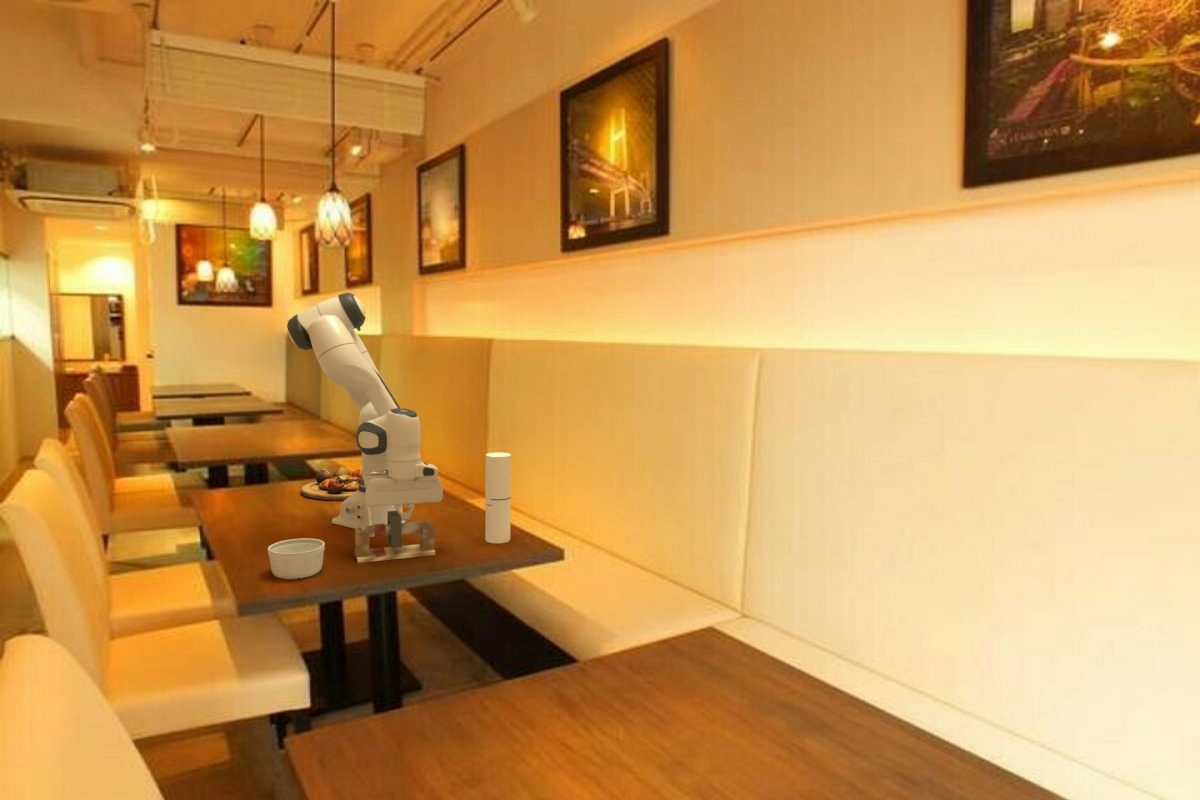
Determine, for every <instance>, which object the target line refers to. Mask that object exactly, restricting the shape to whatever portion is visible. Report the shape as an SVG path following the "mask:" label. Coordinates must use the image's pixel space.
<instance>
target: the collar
mask: <svg viewBox="0 0 1200 800" xmlns="http://www.w3.org/2000/svg"><path fill="white" fill-rule="evenodd" d="M387 518H388V524H391V535H387V542H388V543H389V545H390V546H389V547H392V548H400V547H402V546H403V543H402V535H403V534H402V532H401V516H400V515H399V513H398V512H397V511H387Z"/></svg>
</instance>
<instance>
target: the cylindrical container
mask: <svg viewBox="0 0 1200 800" xmlns="http://www.w3.org/2000/svg"><path fill="white" fill-rule="evenodd" d="M511 458H512V454H511V453H508V452H487V453H486V454H485V534H484V535H485V542H487V543H489V544H505V543H508V542H510V541H511V506H512V505H511V498H512V497H511V495H512V494H511V493H512V492H511V491H512V490H511V487H512V486H511V485H512V483H511V481H512V479H511V475H512V474H511V472H512V471H511V469H512V463H511V462H512V459H511ZM509 540H510V541H509Z"/></svg>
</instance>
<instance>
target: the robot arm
mask: <svg viewBox="0 0 1200 800" xmlns="http://www.w3.org/2000/svg"><path fill="white" fill-rule="evenodd" d="M365 321H366V311H365V306H364V305H363V303H362V301H361V300H360V299H359V298H358V297H357V296H356V295H354V293H351V292H344V293H340V294H338V296H334V297H331V298H327V299H325V300H322V301H320V302H318V303H317V304H315V305H313V306H311V307H310V308H307V309H306V310H304V311H302V312H300V313H299V314H295V315H293V316H292V317H291V318H290V319H288V321H287V323H286V328H287V334H288V336H289V339H290V340H291V342H292V343H293V344H295V346H296V347H297V348H298V349H301V350H303V351H304V350H305V351H308V350H313V352H314V355H315V357H316V360H317V362H318V364H319V367H320V368H321V370H322V372H323V373H324V375H325V376H326V377H327V379H329V381H331V382H333V383H334V384H337V385H339V386H342V387H343V388H344V390H345V391H346V393H347V394H348V395H349V397H350V398H351V400H352V401H353V403H354V404H355V406H356V408H357V409H358V410H359V416H358V417H359V419H358V421H359V426H358V427H357V429H356V433H355V444H356V445H357V447H358V449H359V451H360V452H361V463H362V464H361V465H362V466H361V469H362V470H361V471H362V479H360V480H358V481H355V482H358V483H356V484H355V485H357V484H359V486H358V490H357V491H356V492H355V493H353V494H352V495H351V496H350V497H348V498H347V499H346V500H342V503H341V504H340V508H339V515H338V516H335V517H333V518H332V519H331V523H332V524H335V525H338V526H343V527H346V528H350V529H354V530H355V528H359V527H361V526H372V525H376V524H388V518H387V511H397V512H398V513H399V515H400V516H401V523H406V521H410V520H411V514H412V512H413V511H414V509H415V507H416V506H415V504H423V503H425V504H426V503H438V502H441V501H443V498H444V493H443V483H442V479H441V478H440V476H438V475H439V469H438V467H437V466H436V465H434V464H431V463H427V462H423V461H422V455H421V453H420V452H421V451H420V447H421V443H422V429H421V422H420V417H419V415H418V413H417V412H415V411H414V410H412V409H408V408H401V406H400V405H399V404H398V402H397V399H395V397H394V395H393V393H392V391H391V390H390V389H389V387H388V385H387V384H386V381H384V379H383V377H382V376H381V374H380V372H379V370H378V368H377V366H376V365H375V362H374V360H373V359H372V357H371V355H370V353H369V351H368V349H367V347H366V346H365V344H364V342H363V341H362V339H361V338H360V336H359V335H358V333H357V332H356V330H357V331H358V332H360V331H361V327H362V326H363V325H364V323H365ZM355 329H356V330H355ZM403 505H407V506H408V507H409V508H408V509H407V512H403Z"/></svg>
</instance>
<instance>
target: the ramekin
mask: <svg viewBox="0 0 1200 800" xmlns="http://www.w3.org/2000/svg"><path fill="white" fill-rule="evenodd" d="M325 544H326V543H325V541H324V540H322V539H317V538H307V537H304V538H302V537H301V538H293V539H286V540H281V541H277V542H275V543H273V544H271V545H268V547H267V555H268V558H269V564H270V569H271V573H272V574H273V575H274V576H275V577H276V578H277V579H278V578H279V579H281V578H283V579H284V580H298V578H300V579H305V577H306V578H309V577H312V576H315V575H317V574H318V573H319V572H320V571H321V570H322V567H323V563H324V555H325V554H324V553H325V552H324V551H325V549H326V547H325V546H326V545H325ZM283 579H282V580H283Z"/></svg>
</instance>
